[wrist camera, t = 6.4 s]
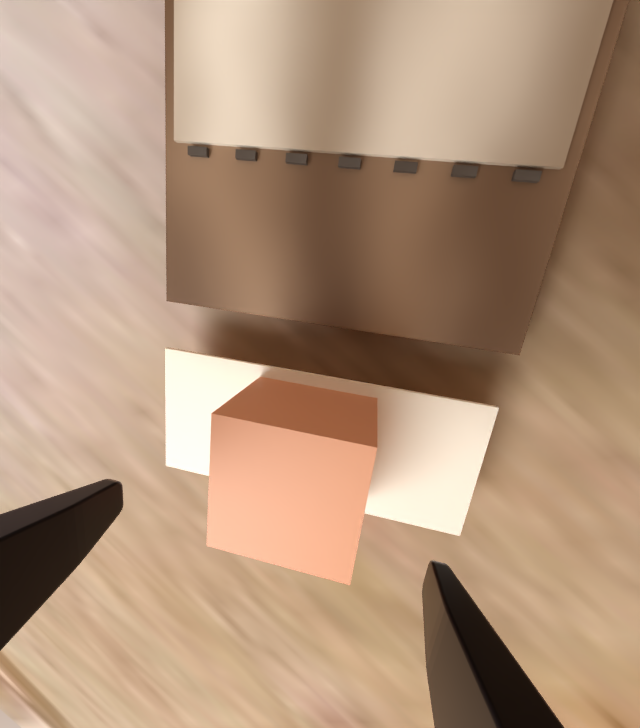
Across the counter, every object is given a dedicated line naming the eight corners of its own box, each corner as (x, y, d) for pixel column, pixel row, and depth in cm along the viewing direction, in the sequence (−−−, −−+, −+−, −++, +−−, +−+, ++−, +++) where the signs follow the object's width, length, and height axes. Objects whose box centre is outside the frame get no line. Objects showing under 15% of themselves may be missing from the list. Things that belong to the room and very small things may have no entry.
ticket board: (697, -299, 8) (765, -424, 7) (505, 348, 13) (521, 356, 11) (188, -236, 10) (158, -321, 9) (183, 300, 15) (163, 301, 14)
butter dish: (496, 405, 12) (559, 467, 8) (458, 532, 13) (493, 638, 9) (168, 347, 14) (81, 372, 10) (168, 463, 15) (94, 525, 11)
